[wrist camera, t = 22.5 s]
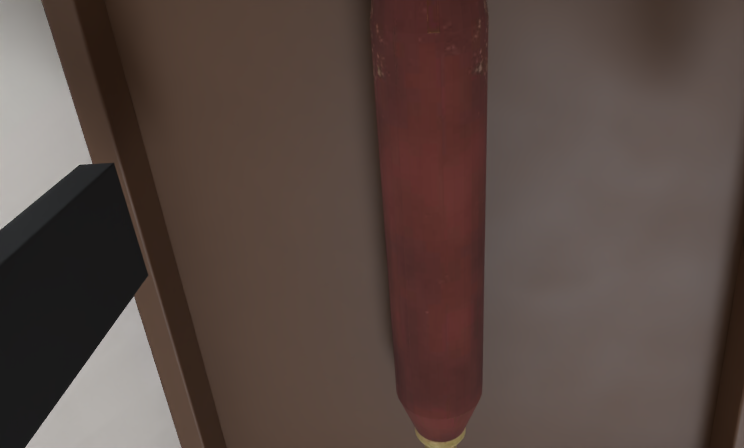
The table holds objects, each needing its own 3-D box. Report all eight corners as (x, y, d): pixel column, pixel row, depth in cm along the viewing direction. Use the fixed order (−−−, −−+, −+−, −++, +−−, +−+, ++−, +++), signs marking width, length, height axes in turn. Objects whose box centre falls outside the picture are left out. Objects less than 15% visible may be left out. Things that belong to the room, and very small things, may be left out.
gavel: (619, 530, 19) (272, 518, 20) (589, 408, 23) (300, 404, 24) (820, -544, 8) (50, -440, 9) (698, -427, 12) (166, -363, 13)
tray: (-53, -473, 13) (-125, -524, 12) (928, -674, 11) (1016, -776, 9) (223, 489, 25) (207, 533, 23) (720, 489, 23) (743, 537, 21)
